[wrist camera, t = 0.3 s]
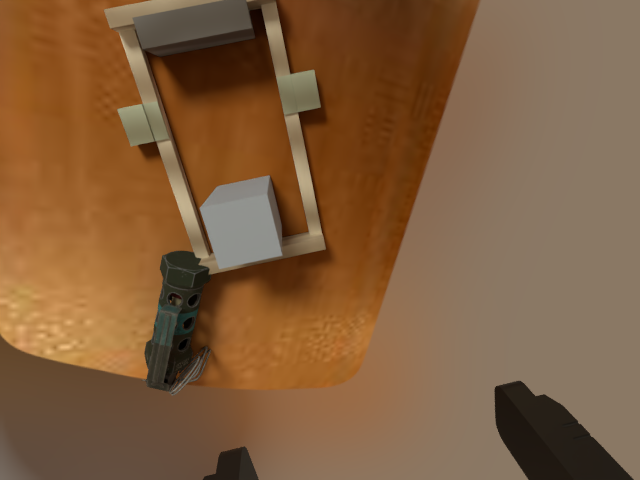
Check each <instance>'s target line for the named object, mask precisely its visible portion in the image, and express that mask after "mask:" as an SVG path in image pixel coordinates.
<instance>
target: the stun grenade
mask: <svg viewBox="0 0 640 480" xmlns="http://www.w3.org/2000/svg"><path fill="white" fill-rule="evenodd" d="M201 259H202V258H197V257H196V256H195V254H194V252H189V251H174V252H170V253H168V254H166V255H163V256H162V260H161V265H160V270H161V273H162V276H163V283H162V284H163V286H162V290H161V294H160V298H159V303H158V312H157V315H156V319H155V324H154V333H153V336H152V339H151V340H150V341H148V342H146V348H145V359H146V363H147V367H148V369H149V370H148V375H147V379H146V380H142V381H146V383H147V387H150V388H155V389H159V390H164V391H169V393H170V394H171V395H175V394H177V393H178V392H179V391H180V390H181V389H182V388H183V387H184V386H185V385H186V384H187V383H188V382H192V381H196V380H198V379H199V378H200V376H201V374H202V372H203V370H204V367H205V365H206V363H207V360H208V358H209V355H210V353H211V350H210V349H209V350H207V349H208V347H207V346H206V347H204V348H203V349H202V350H201V351H200V352H199V353H198V354H197V355H196V356H195V357H194V358H193V359H192V356H193V351H192V348H191V345H190V343H191V337H192V334H193V330H194V326H195V321H196V316H197V312H198V309H199V304H200V299H201V294H202V290H203V287H204V284H205V283H207V282H208V281H210V279H211V274H210V275H208V274H209V270H210V269H209V268H208V267H206V266H202V265H199V263H200V261H201ZM170 300H171V301H172V302H171V303H170ZM183 324H184V328H183ZM205 348H206V350H205V352H204V354H203V355H202V356H201V357H200V356H198V355H199V354H200V353H201V352H202V351H203V350H204V349H205ZM208 352H209V353H208ZM206 353H208V356H207V358H206V360H205V363H204V365H203V367H202V370H201V372H200V374H199V376H198V377H197V378H196V379H193V378H194V377H196V376H197V374H198V373H199V371H200V368H201V365H202V362H203V360H204V357H205V354H206ZM197 356H198V358H197V359H196V360H195V361H193V360H194V359H195V358H196V357H197ZM200 359H201V360H200ZM199 360H200V363H199V365H198V366H197V364H198V362H199ZM192 361H193V362H192ZM191 362H192V363H191ZM189 364H190V365H189ZM188 365H189V366H188ZM187 366H188V367H187ZM196 366H197V368H196V370H195V371H194V372H193V370H194V369H195V367H196ZM186 367H187V368H186ZM185 368H186V369H185ZM192 368H193V369H192ZM184 369H185V370H184ZM191 369H192V370H191ZM180 370H181V371H180ZM183 370H184V371H183ZM190 370H191V371H190ZM197 370H198V371H197ZM178 371H180V372H179V373H181V372H182V371H183V372H182V373H181V374H180V376H179V377H178V378H177V379H176V375H177V373H178ZM189 371H190V373H189V374H188V375H187V377H186V378H184V377H185V375H186V374H187V373H188V372H189ZM196 371H197V373H196ZM192 372H193V374H192V375H191V376H190V374H191V373H192ZM195 373H196V374H195ZM194 374H195V375H194ZM193 375H194V376H193ZM189 376H190V377H189ZM181 377H182V378H181ZM180 378H181V379H180ZM190 379H192V380H190ZM175 380H176V381H175ZM185 380H187V381H185ZM177 381H178V383H177V384H176V382H177ZM181 381H182V382H181ZM180 382H181V383H180ZM179 383H180V384H179ZM183 383H185V384H184V385H183V386H182V387H181V388H180V389H179V390H178V391H176V390H177V389H178V388H179V387H180V386H181V385H182V384H183ZM175 384H176V386H175V387H174V385H175ZM178 384H179V386H178ZM177 386H178V387H177ZM173 387H174V389H173V391H171V390H172V388H173ZM175 391H176V392H175ZM173 392H175V393H174V394H173Z"/></svg>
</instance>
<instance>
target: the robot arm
mask: <svg viewBox="0 0 640 480" xmlns="http://www.w3.org/2000/svg"><path fill="white" fill-rule="evenodd" d="M495 418H496V426H497V429H498V432H499V434H500V436H501V439H502V440H503V442H504V444H505V445H506V447H507V448H508V450H509V451H510V453H511V454H512V456H513V457H514V459H515V460H516V461H517V463H518V465H519V466H520V468H521V469H522V470H523V472H524V473H525V475H526V476H527V478H528V479H529V480H633V479H632V478H631V477H630V475H629V474H628V473H627V472H626V471H625V470H624V469H623V468H622V467H621V466H620V465H619V464H618V463H617V462H616V461H615V460H614V459H613V458H612V457H611V455H610V454H609V453H608V452H607V451H606V450H605V449H604V448H603V447H602V446H601V445H600V444H599V443H598V442H597V441H596V440H595V439H594V438H593V437H591V436H590V433H589V432H588V431H587V430H586V429H585V428H584V427H583V426H582V425H581V424H579V423H578V421H577V420H576V419H575V418H574V417H573V416H572V415H571V414H570V413H569V412H568V410H567V409H565V407H564V406H562V405H561V404H559V403H558V402H556V401H554V400H553V399H551V398H549V397H548V396H546V395H540V396H535V395H534V394H533V393H532V392H531V391H530V390H529V389H528V387H527V386H526V385H525V384H524V383H523V382H521V381H516V382H512V383H507V384H503V385H499V386H496V387H495ZM203 480H258V477H257V474H256V471H255V469H254V466H253V464H252V461H251V458H250V456H249V453H248V451H247V448H246V447H241V448H236V449H232V450H228V451H225V452H221V453H220V455H219V458H218V464H217V470H216V474H213V475H209V476H205V477H204V479H203Z"/></svg>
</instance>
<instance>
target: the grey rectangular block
mask: <svg viewBox="0 0 640 480" xmlns="http://www.w3.org/2000/svg"><path fill="white" fill-rule="evenodd" d="M200 211H201V214H202V217H203V220H204V223H205V226H206V229H207V233H208V236H209V239H210V242H211V245H212V248H213V251H214V254H215V257H216V261H217V264H218V267H219V269H223V268H227V267H232V266H236V265H241V264H246V263H250V262H255V261H260V260H264V259H269V258H273V257H278V256H282V224H281V220H280V215H279V211H278V207H277V203H276V199H275V195H274V190H273V186H272V182H271V178H270V175H269V176H264V177H260V178H255V179H250V180H245V181H240V182H236V183H231V184H226V185H221V186H217V187H216V189H215V190H214V191H213V192H212V194H211V195H210V196H209V197H208V199H207V200H206V201H205V202H204V204H203V205H202V206H201V207H200Z"/></svg>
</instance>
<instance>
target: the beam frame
mask: <svg viewBox="0 0 640 480" xmlns="http://www.w3.org/2000/svg"><path fill="white" fill-rule="evenodd" d="M260 8H262V13H263V18H264V23H265V27H266V32H267V37H268V41H269V46H270V51H271V55H272V60H273V65H274V69H275V74H276V79H277V84H278V88H279V93H280V98H281V102H282V107H283V112H284V116H285V121H286V126H287V130H288V135H289V140H290V145H291V149H292V154H293V159H294V163H295V168H296V173H297V177H298V182H299V187H300V191H301V196H302V201H303V206H304V210H305V215H306V220H307V224H308V229H309V232H306V233H302V234H297V235H292V236H288V237H283V238H282V256H278V257H273V258H269V259H264V260H260V261H255V262H250V263H246V264H241V265H236V266H232V267H227V268H223V269H219V267H218V264H217V261H216V257H215V254H214V253H210V249H209V246H208V243H207V240H206V237H205V234H204V231H203V228H202V225H201V222H200V219H199V216H198V212H197V209H196V206H195V203H194V200H193V197H192V194H191V191H190V188H189V185H188V182H187V179H186V176H185V172H184V169H183V166H182V163H181V160H180V157H179V154H178V151H177V148H176V145H175V142H174V139H173V135H172V132H171V129H170V126H169V123H168V120H167V117H166V114H165V111H164V108H163V105H162V102H161V99H160V95H159V92H158V89H157V86H156V83H155V80H154V77H153V74H152V71H151V68H150V65H149V62H148V58H147V55H146V52H145V51H148V52H150V53H152V54H154V55H157V56H159V57H162V56H167V55H172V54H177V53H182V52H187V51H193V50H198V49H203V48H208V47H213V46H218V45H223V44H228V43H233V42H238V41H244V40H249V39H254V38H255V34H254V29H253V25H252V20H251V16H250V10H255V9H260ZM104 12H105V15H106V17H107V20H108V23H109V26H110V28H111V29H113V30H115V31H117V32H119V34H120V37H121V40H122V43H123V46H124V49H125V52H126V55H127V58H128V61H129V64H130V67H131V69H132V72H133V75H134V78H135V81H136V84H137V87H138V90H139V93H140V96H141V99H142V102H143V104H140V105H135V106H130V107H125V108H120V109H117V110H118V112H119V115H120V118H121V121H122V123H123V126H124V129H125V131H126V134H127V137H128V140H129V142H130V145H131V146H134V145H139V144H144V143H149V142H154V141H156V143H157V145H158V148H159V151H160V154H161V157H162V160H163V163H164V166H165V169H166V172H167V175H168V178H169V180H170V183H171V186H172V189H173V192H174V195H175V198H176V201H177V204H178V207H179V210H180V213H181V216H182V218H183V221H184V224H185V227H186V230H187V233H188V236H189V239H190V242H191V245H192V248H193V251H194V254H195V256H196V257H197V258H202V259H201V261H200V263H199V265H202V266H206V267H208V268H209V269H210V270H209V274H208V275H210V274H215V273H219V272H224V271H228V270H233V269H238V268H242V267H247V266H251V265H256V264H260V263H265V262H270V261H274V260H279V259H283V258H288V257H293V256H297V255H302V254H306V253H311V252H316V251H320V250H325V249H326V247H325V242H324V237H323V234H322V231H321V225H320V220H319V215H318V210H317V205H316V200H315V195H314V190H313V185H312V180H311V175H310V170H309V165H308V160H307V155H306V150H305V145H304V140H303V135H302V130H301V125H300V120H299V115H298V112H301V111H306V110H311V109H316V108H321V105H320V100H319V94H318V88H317V83H316V77H315V72H314V70H310V71H305V72H300V73H295V74H290V70H289V65H288V60H287V55H286V50H285V45H284V40H283V35H282V30H281V25H280V20H279V15H278V10H277V5H276V0H152V1H146V2H141V3H136V4H131V5H125V6H120V7H115V8H110V9H104Z"/></svg>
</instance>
